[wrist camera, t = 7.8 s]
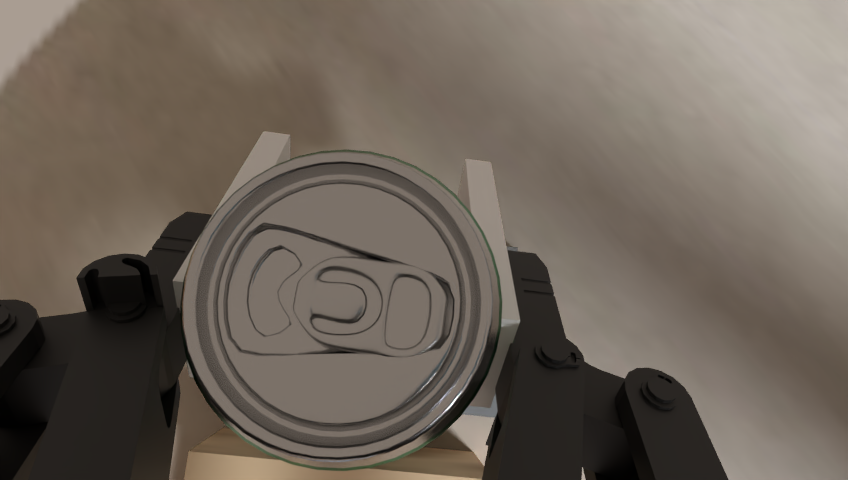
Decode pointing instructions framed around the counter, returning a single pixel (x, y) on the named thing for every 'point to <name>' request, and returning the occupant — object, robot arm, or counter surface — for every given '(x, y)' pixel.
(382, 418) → the soda can
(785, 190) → the counter surface
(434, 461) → the oak frame
